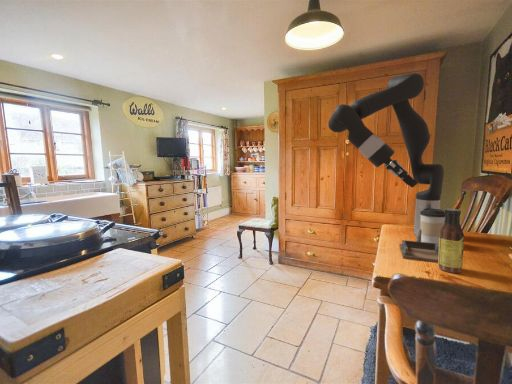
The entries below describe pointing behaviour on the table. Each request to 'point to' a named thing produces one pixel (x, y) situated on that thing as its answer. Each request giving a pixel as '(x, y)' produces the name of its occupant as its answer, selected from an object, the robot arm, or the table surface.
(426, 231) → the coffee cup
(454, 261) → the sauce bottle
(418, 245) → the keeper cradle
